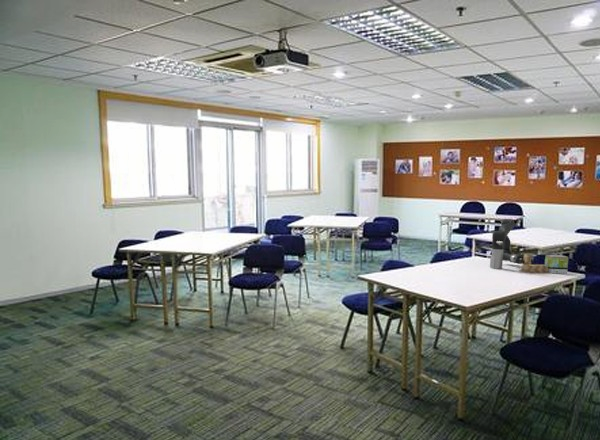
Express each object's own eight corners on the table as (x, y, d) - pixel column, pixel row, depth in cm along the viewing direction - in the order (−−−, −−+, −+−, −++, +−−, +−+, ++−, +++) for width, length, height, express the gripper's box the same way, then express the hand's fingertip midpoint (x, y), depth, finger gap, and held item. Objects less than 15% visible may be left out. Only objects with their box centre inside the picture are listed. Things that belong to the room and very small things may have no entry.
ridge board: (529, 273, 386) (529, 266, 386) (519, 270, 399) (519, 263, 399) (550, 273, 390) (550, 266, 389) (539, 270, 403) (540, 263, 402)
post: (526, 270, 402) (527, 254, 402) (523, 269, 406) (524, 253, 406) (530, 270, 403) (531, 254, 402) (527, 269, 407) (528, 253, 406)
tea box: (551, 273, 390) (552, 256, 389) (543, 271, 400) (544, 254, 399) (567, 273, 392) (568, 256, 391) (559, 271, 402) (560, 254, 401)
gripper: (510, 254, 417) (521, 257, 401) (524, 254, 419) (536, 257, 404) (509, 263, 417) (521, 265, 402) (523, 263, 420) (535, 266, 404)
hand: (528, 261), depth 403 cm, fingers open, 8 cm apart
